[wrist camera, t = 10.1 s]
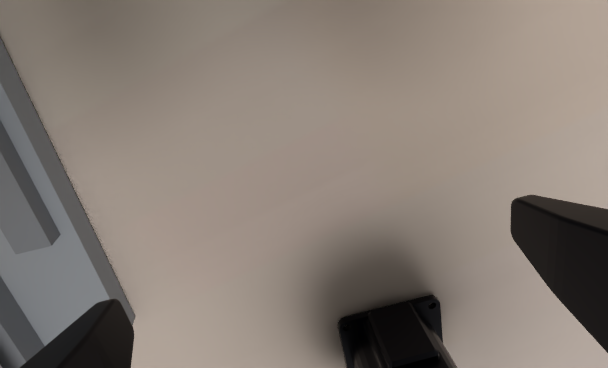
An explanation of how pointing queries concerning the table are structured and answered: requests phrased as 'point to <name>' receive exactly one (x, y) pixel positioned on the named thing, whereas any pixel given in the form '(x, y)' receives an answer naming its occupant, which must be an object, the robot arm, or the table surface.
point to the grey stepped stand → (41, 235)
